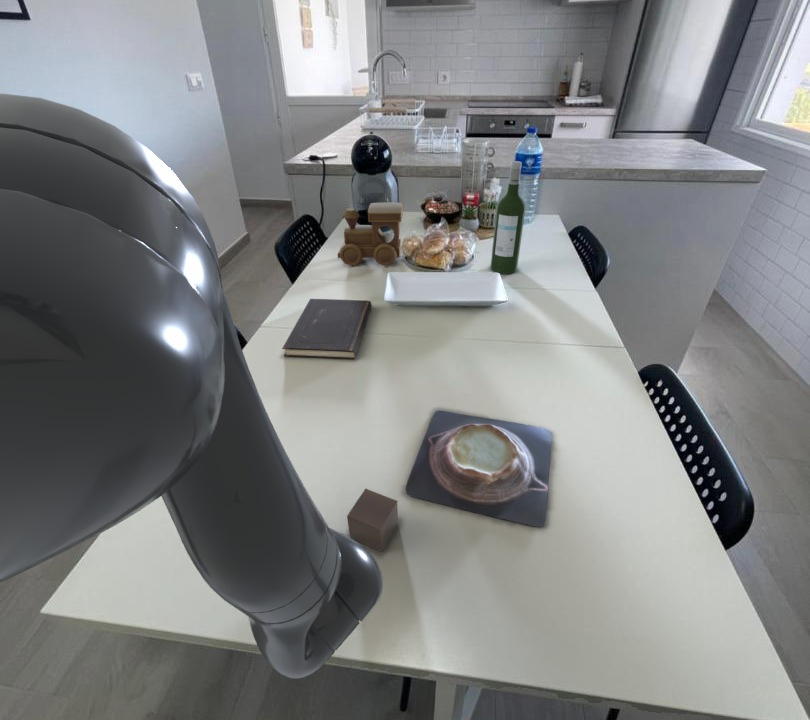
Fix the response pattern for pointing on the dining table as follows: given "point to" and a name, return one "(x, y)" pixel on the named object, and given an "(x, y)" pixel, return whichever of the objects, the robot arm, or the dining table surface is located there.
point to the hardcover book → (329, 329)
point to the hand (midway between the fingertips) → (159, 405)
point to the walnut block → (373, 519)
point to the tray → (444, 289)
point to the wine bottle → (508, 226)
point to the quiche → (484, 467)
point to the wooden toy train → (372, 235)
